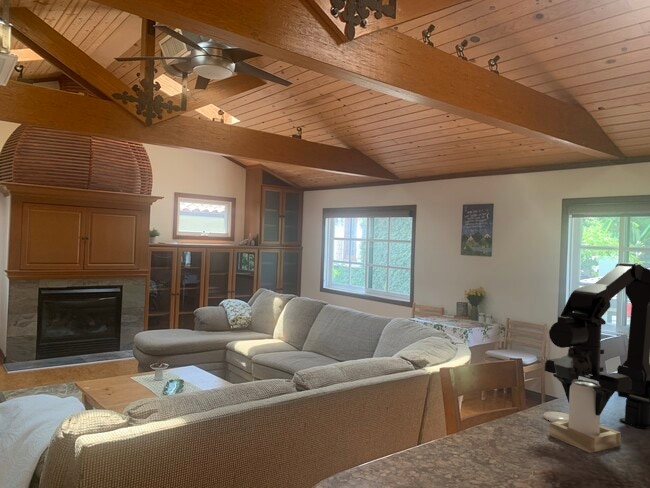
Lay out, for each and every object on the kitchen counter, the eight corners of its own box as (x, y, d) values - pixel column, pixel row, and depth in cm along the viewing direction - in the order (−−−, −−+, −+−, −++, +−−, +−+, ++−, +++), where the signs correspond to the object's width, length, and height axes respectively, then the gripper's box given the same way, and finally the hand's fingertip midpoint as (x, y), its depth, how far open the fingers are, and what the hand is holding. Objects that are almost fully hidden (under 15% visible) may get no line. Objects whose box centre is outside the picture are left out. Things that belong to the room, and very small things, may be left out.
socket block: (578, 429, 123) (579, 417, 123) (620, 445, 114) (620, 432, 114) (549, 435, 119) (550, 422, 118) (590, 452, 109) (590, 439, 109)
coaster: (557, 412, 135) (557, 410, 135) (584, 422, 128) (584, 420, 128) (537, 416, 132) (537, 413, 132) (563, 426, 125) (563, 424, 125)
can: (603, 440, 112) (605, 388, 112) (572, 437, 113) (574, 385, 113) (594, 430, 118) (595, 380, 118) (564, 427, 120) (566, 378, 120)
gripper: (529, 338, 121) (527, 402, 121) (601, 355, 104) (599, 429, 104) (561, 335, 126) (558, 397, 126) (634, 351, 109) (632, 422, 109)
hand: (584, 410), depth 116 cm, fingers closed on can, 6 cm apart
